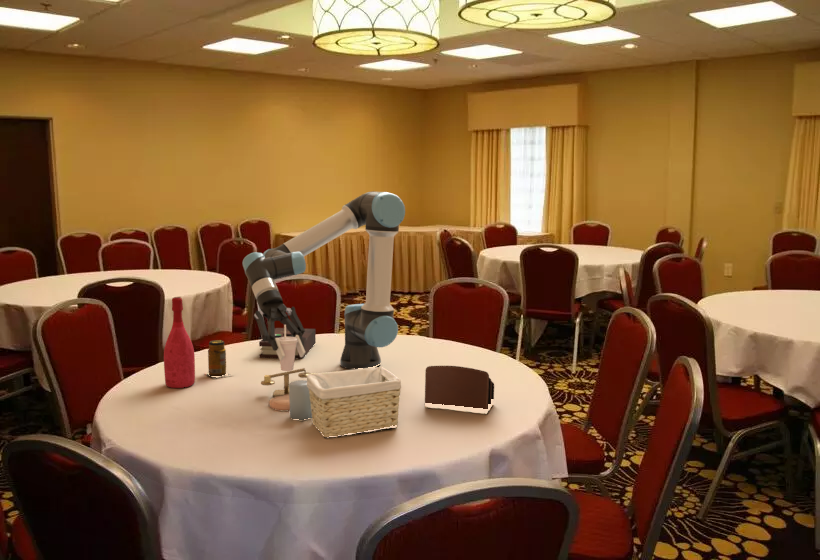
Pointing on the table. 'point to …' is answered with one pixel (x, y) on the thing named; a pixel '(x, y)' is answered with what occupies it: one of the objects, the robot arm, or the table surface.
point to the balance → (286, 380)
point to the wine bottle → (179, 352)
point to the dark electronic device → (279, 332)
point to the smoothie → (288, 351)
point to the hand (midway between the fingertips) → (292, 356)
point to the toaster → (458, 386)
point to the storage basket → (354, 400)
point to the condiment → (217, 359)
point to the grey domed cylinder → (299, 400)
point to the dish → (280, 403)
